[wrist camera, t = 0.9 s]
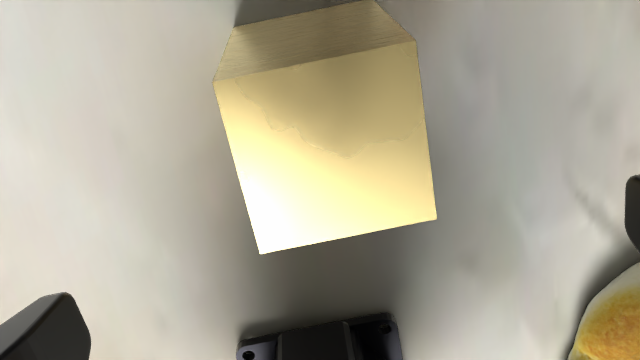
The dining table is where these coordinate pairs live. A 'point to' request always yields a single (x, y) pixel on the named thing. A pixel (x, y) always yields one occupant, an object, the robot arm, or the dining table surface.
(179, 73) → the dining table surface
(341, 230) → the brass block
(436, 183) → the dining table surface
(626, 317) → the bread roll
